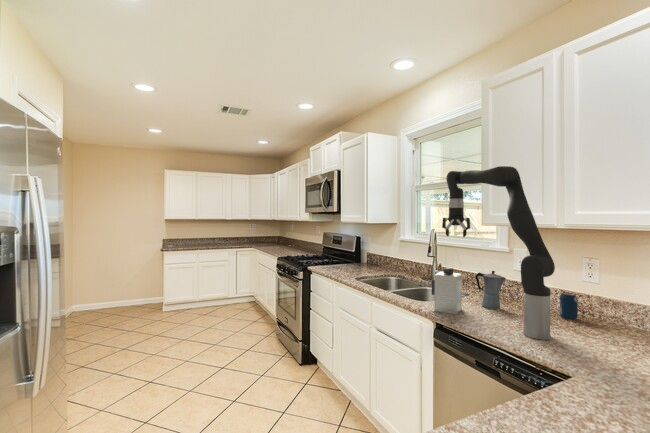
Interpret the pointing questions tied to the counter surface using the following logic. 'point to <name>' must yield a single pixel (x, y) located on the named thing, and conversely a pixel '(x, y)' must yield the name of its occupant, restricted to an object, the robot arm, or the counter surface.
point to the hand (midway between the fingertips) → (455, 236)
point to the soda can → (568, 306)
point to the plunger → (448, 271)
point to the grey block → (447, 292)
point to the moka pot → (491, 289)
